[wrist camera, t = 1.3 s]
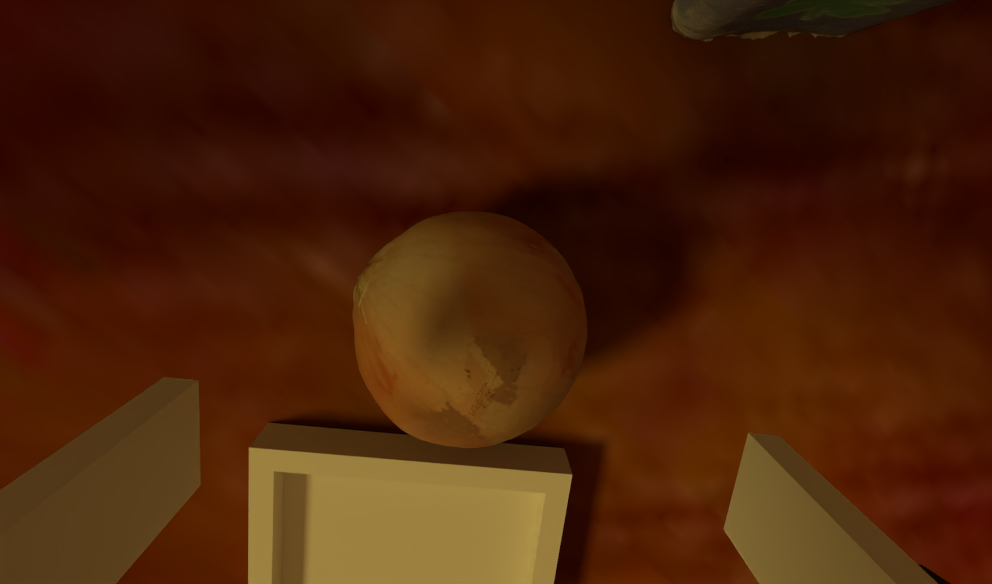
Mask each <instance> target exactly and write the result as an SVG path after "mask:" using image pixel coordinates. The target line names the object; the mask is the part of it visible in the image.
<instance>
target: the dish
mask: <svg viewBox="0 0 992 584" xmlns="http://www.w3.org/2000/svg"><path fill="white" fill-rule="evenodd" d="M571 480H572V472H571V468H570V465H569V462H568V458H567V455H566V452H565V449H564V448H554V447H543V446H531V445H520V444H508V443H499V444H496V445H492V446H486V447H479V448H459V447H451V446H444V445H439V444H435V443H430V442H427V441H424V440H420V439H418V438H416V437H414V436H412V435H405V434H393V433H382V432H370V431H359V430H347V429H336V428H324V427H313V426H301V425H290V424H278V423H268V424H267V425H266V426H265V428H264V429H263V430H262V432H261V433H260V434H259V435H258V437H257V438H256V439H255V441H254V442H253V443H252V444H251V446H250V447H249V545H248V584H554V579H555V573H556V567H557V561H558V556H559V550H560V544H561V538H562V532H563V527H564V521H565V515H566V509H567V503H568V497H569V492H570V486H571Z"/></svg>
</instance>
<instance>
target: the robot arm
mask: <svg viewBox="0 0 992 584" xmlns="http://www.w3.org/2000/svg"><path fill="white" fill-rule="evenodd" d="M200 485H201V484H200V429H199V380H190V379H179V378H169V377H164V378H162V379H161V380H160V381H158V382H157V383H155V384H154V385H152V386H151V387H149V388H148V389H146V390H145V391H144V392H142V393H141V394H139V395H138V396H136V397H135V398H133V399H132V400H131V401H129V402H128V403H126V404H125V405H123V406H122V407H120V408H119V409H117V410H116V411H115V412H113V413H112V414H110V415H109V416H107V417H106V418H104V419H103V420H101V421H100V422H99V423H97V424H96V425H94V426H93V427H91V428H90V429H88V430H87V431H85V432H84V433H83V434H81V435H80V436H78V437H77V438H75V439H74V440H72V441H71V442H69V443H68V444H67V445H65V446H64V447H62V448H61V449H59V450H58V451H56V452H55V453H53V454H52V455H51V456H49V457H48V458H46V459H45V460H43V461H42V462H40V463H39V464H37V465H36V466H35V467H33V468H32V469H30V470H29V471H27V472H26V473H24V474H23V475H21V476H20V477H19V478H17V479H16V480H14V481H13V482H11V483H10V484H8V485H7V486H6V487H4V488H3V489H1V490H0V584H116V583H117V582H118V580H119V579H120V578H121V577H122V576H123V575H124V573H125V572H126V571H127V570H128V569H129V568H130V566H131V565H132V564H133V563H134V562H135V561H136V560H137V558H138V557H139V556H140V555H141V554H142V553H143V551H144V550H145V549H146V548H147V547H148V546H149V544H150V543H151V542H152V541H153V540H154V539H155V537H156V536H157V535H158V534H159V533H160V532H161V530H162V529H163V528H164V527H165V526H166V525H167V524H168V522H169V521H170V520H171V519H172V518H173V517H174V515H175V514H176V513H177V512H178V511H179V510H180V508H181V507H182V506H183V505H184V504H185V503H186V501H187V500H188V499H189V498H190V497H191V496H192V494H193V493H194V492H195V491H196V490H197V489H198V487H199V486H200ZM724 531H725V532H726V534H727V535H728V537H729V538H730V540H731V541H732V543H733V544H734V546H735V547H736V549H737V550H738V552H739V553H740V555H741V557H742V558H743V560H744V561H745V563H746V564H747V566H748V567H749V569H750V570H751V572H752V573H753V575H754V576H755V578H756V579H757V581H758V582H759V584H950V583H949V582H947V581H946V580H944V579H943V578H941V577H939V576H938V575H936V574H935V573H933V572H932V571H930V570H929V569H927V568H926V567H924V566H923V565H919V564H917V563H915V562H914V561H913V560H912V559H911V558H910V557H909V556H908V555H907V554H906V553H905V552H904V551H903V550H901V549H900V548H899V547H898V546H897V545H896V544H895V543H894V542H893V541H892V540H891V539H890V538H889V537H887V536H886V535H885V534H884V533H883V532H882V531H881V530H880V529H879V528H878V527H877V526H876V525H875V524H873V523H872V522H871V521H870V520H869V519H868V518H867V517H866V516H865V515H864V514H863V513H862V512H861V511H859V510H858V509H857V508H856V507H855V506H854V505H853V504H852V503H851V502H850V501H849V500H848V499H846V498H845V497H844V496H843V495H842V494H841V493H840V492H839V491H838V490H837V489H836V488H835V487H834V486H832V485H831V484H830V483H829V482H828V481H827V480H826V479H825V478H824V477H823V476H822V475H821V474H820V473H818V472H817V471H816V470H815V469H814V468H813V467H812V466H811V465H810V464H809V463H808V462H807V461H806V460H804V459H803V458H802V457H801V456H800V455H799V454H798V453H797V452H796V451H795V450H794V449H793V448H792V447H790V446H789V445H788V444H787V443H786V442H785V441H784V440H783V439H782V438H781V437H780V436H779V435H769V434H759V433H748V436H747V440H746V443H745V447H744V451H743V455H742V459H741V463H740V467H739V471H738V475H737V479H736V483H735V487H734V491H733V495H732V498H731V502H730V506H729V510H728V514H727V518H726V522H725V526H724Z"/></svg>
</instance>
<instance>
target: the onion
mask: <svg viewBox="0 0 992 584" xmlns="http://www.w3.org/2000/svg"><path fill="white" fill-rule="evenodd" d="M353 301H354V308H353V324H354V331H355V350H356V356H357V361H358V367H359V371H360V374H361V376H362V377H363V379H364V382H365V384H366V386H367V388H368V390H369V391H370V393H371V394H372V396H373V398H374V399H375V401H376V402H377V403H378V405H379V406H380V408H381V409H382V410H383V412H384V413H385V414H386V415H387V416H388V418H389V419H390V420H391V421H392V422H393V423H394V424H395V425H397V426H398V427H399V428H400V429H401V430H403V431H404V432H406V433H408V434H410V435H412V436H414V437H416V438H418V439H420V440H424V441H427V442H430V443H435V444H439V445H444V446H451V447H459V448H479V447H486V446H492V445H496V444H499V443H502V442H504V441H507V440H510V439H513V438H515V437H517V436H519V435H521V434H523V433H524V432H526V431H528V430H530V429H532V428H533V427H535V426H536V425H537V424H539V423H540V422H541V421H542V420H544V419H545V418H546V417H547V416H549V415H550V414H551V413H552V412H553V411H554V410H555V409H556V408H557V407H558V406H559V405H560V404H561V402H562V401H563V399H564V398H565V397H566V395H567V394H568V392H569V390H570V388H571V387H572V385H573V383H574V381H575V379H576V377H577V375H578V374H579V371H580V369H581V366H582V363H583V357H584V352H585V346H586V341H587V315H586V310H585V306H584V299H583V294H582V291H581V288H580V286H579V284H578V283H577V281H576V279H575V277H574V274H573V272H572V271H571V269H570V267H569V265H568V264H567V262H566V260H565V259H564V257H563V256H562V255H561V254H560V252H559V251H558V250H557V249H556V248H555V247H554V246H553V245H552V244H551V243H550V242H549V241H548V240H546V239H545V238H544V237H543V236H541V235H540V234H539V233H537V232H536V231H535V230H533V229H531V228H530V227H528V226H526V225H525V224H523V223H521V222H519V221H517V220H515V219H513V218H510V217H507V216H504V215H500V214H495V213H490V212H479V211H459V212H450V213H445V214H441V215H437V216H433V217H430V218H428V219H425V220H423V221H421V222H419V223H417V224H415V225H414V226H412V227H411V228H409V229H408V230H407V231H405V232H404V233H403V234H401V235H400V236H398V237H397V238H395V239H394V240H392V241H391V242H389V243H388V244H386V245H385V246H384V247H383V248H382V249H381V250H380V251H379V252H377V253H376V254H375V255H374V257H373V258H372V259H371V260H370V261H369V263H368V264H367V266H366V268H365V270H364V271H363V272H362V273H361V274H360V276H359V278H358V279H357V282H356V284H355V288H354V294H353Z"/></svg>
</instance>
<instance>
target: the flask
mask: <svg viewBox="0 0 992 584" xmlns="http://www.w3.org/2000/svg"><path fill="white" fill-rule="evenodd" d="M953 1H956V0H674V2H673V6H672V9H671V10H672V11H671V19H672V26H673V30H674V31H675V32H677V33H679V34H680V35H681V36H683V37H684V38H689V39H699V40H703V41H708V40H709V41H712V40H713V38H715V37H719V36H731V35H732V36H734V37H736V36H738V37H739V36H740V38H741V39H746V38H750V39H752V40H755V39H757V38H761V39H763V38H765V37H769V34H770V35H773V34H774V33H777V32H778V31H779V32H787V34H788V36H789V38H790V37H791V36H792V35H795V34H798V33H801V32H804V33H805V32H808V33H810V34H812V35H814V37H815V38H816V36H827V37H843V36H845V35H847V34H849V33H852V32H856V31H859V30H861V29H863V28H867V27H870V26H874V25H878V24H881V23H883V22H886V21H888V20H892V19H897V18H902V17H904V16H908V15H913V14H915V13H918V12H920V11H922V10H925V9H928V8H932V7H935V6H939V5H942V4H946V3H950V2H953Z"/></svg>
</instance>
